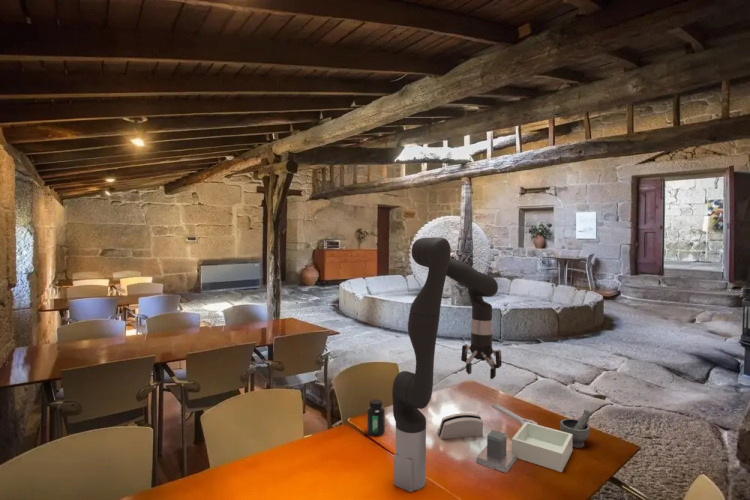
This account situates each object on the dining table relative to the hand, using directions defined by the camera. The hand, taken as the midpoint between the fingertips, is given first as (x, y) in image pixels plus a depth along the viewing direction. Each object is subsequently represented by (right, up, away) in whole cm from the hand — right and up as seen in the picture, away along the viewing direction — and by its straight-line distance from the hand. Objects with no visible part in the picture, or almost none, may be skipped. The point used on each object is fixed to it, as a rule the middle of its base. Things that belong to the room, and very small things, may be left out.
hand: (480, 376), depth 149 cm
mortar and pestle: (+35, -25, 0) cm, 42 cm away
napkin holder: (-6, -24, +5) cm, 26 cm away
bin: (+19, -24, -7) cm, 32 cm away
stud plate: (+2, -25, -12) cm, 27 cm away
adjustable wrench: (+20, -24, +21) cm, 38 cm away
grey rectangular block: (+2, -23, -12) cm, 26 cm away
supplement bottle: (-38, -24, +7) cm, 46 cm away
